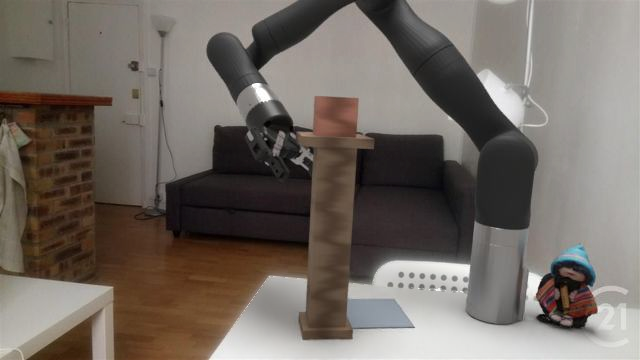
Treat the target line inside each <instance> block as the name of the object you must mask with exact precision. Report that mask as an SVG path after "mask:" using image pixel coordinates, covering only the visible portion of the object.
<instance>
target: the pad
mask: <svg viewBox="0 0 640 360" xmlns="http://www.w3.org/2000/svg"><path fill="white" fill-rule="evenodd" d="M347 317H348V319H349V322H350V324H351V326H352V328H353V330H355V329H357V330H359V329H363V330H364V329H406V328H407V329H410V328H411V329H413V328H416V327H415V325H414V324H413V322H412V321H411V320H410V318H409V317H408V315H407V314H406V312H405V311H404V310H403V309H402V307H401V305H400V304H399V302H398V301H397V300H396V298H348V301H347Z"/></svg>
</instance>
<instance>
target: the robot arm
mask: <svg viewBox="0 0 640 360" xmlns="http://www.w3.org/2000/svg"><path fill="white" fill-rule="evenodd" d="M353 3H354V4H355V5H356V7H357V8H358V9H359V11H360V12H361V13H363V15H364V16H365V17H366V18H367V19H368V20H369V21H370V22H371V23H372V24H373V25H374V26H375V27H376V28H377V29H378V30H379V31H380V33H382V34H383V35H384V37H385V38H386V39H387V41H388V42H389V44H390V45H391V46H392V48H393V50H394V51H395V53H396V54H397V56H398V58H399V59H400V60H401V61H402V63H403V65H404V66H405V67H406V69H407V70H408V72H409V73H410V75H411V76H412V77H413V79H414V81H416V82H417V84H418V85H419V87H420V88H421V90H423V92H424V93H425V95H426V96H428V98H429V99H430V100H431V101H432V102H433V103H434V104H435V105H436V106H437V107H439V109H441V110H442V112H443V113H445V114H446V115H447V116H448V117H449V118H451V119H452V120H453V121H454V122H455V123H456V124H458V125H459V127H461V128H462V130H463V131H464V132H465V134H466V135H467V136H468V137H469V139H470V140H471V141H472V143H473V144H474V146H475V147H476V149H477V151H478V152H479V156H478V161H477V166H476V167H477V168H476V179H475V190H474V208H475V209H474V210H475V216H474V226H473V233H472V234H473V235H472V246H471V254H470V255H471V256H470V265H469V274H468V283H467V293H466V300H465V301H466V303H465V311H466V312H467V314H469V316H471V317H473V318H475V319H477V320H479V321H483V322H486V323H490V324H496V325H499V324H500V325H508V324H509V325H510V324H514V323H516V322H518V321H523V320H524V316H525V315H524V313H525V309H526V308H525V307H526V297H527V290H528V283H529V282H528V281H529V275H530V271H529V269H528V268H527V267H525V265H526V257H527V250H528V249H527V247H528V240H529V232H530V223H531V215H532V214H531V213H532V212H531V210H532V209H531V208H532V207H531V206H532V198H533V197H532V196H533V188H534V180H535V174H536V173H535V172H536V170H537V167H538V165H539V153H538V152H539V151H538V150H537V147H536V146H535V144H534V142H533V141H531V139H529V137H527V136H526V135H525V133H523V132H522V131H521V130H520V129H519V128H518V127H517V126H516V125H515V124H514V123H513V122H512V121H511V120H510V118H508V116H507V115H506V114H504V112H503V111H502V110H501V109H500V108H499V106H498V105H497V104H496V103H495V101H494V99H493V98H492V97H491V95H490V93H489V92H488V90H487V88H486V87H485V85H484V83H483V82H482V81H481V79H480V78H479V76H478V75H477V73H476V72H475V71H474V69H473V68H472V67H471V65H470V64H469V62H468V61H467V59H466V58H465V57H464V55H462V53H461V52H460V50H459V49H458V48H457V47H456V46H455V44H454V43H453V42H452V40H450V39H449V38H448V37H447V36H446V35H445V34H444V33H442V32H441V31H439V30H438V29H436V28H435V27H433V26H431V25H430V24H429V23H427V22H426V21H424V20H423V19H422V18H421V17H420V16H418V15H417V14H416V12H415V11H414V10H413V8H412V7H411V5H410V4H409V3H408V1H407V0H296V1H295V2H293V3H292V4H291V3H290V5H288V6H286V7H284V8H282V9H280V10H279V11H277V12H275V13H273V14H271V15H269V16H267V17H265V18H263V19H262V20H260V21H258V22H256V23H255V24H254V25H253V26H252V27H251V36H252V38H253V41H252V42H251V43H250V44H249V45H248V46H247V47H246V48H245V47H244V45H243V43H242V41H241V40H240V39H239V38H238V37H237V36H236V35H235V34H233V33H231V32H227V31H222V32H218V33H216V34H214V35H213V36H212V37H210V38H209V40H208V41H207V44H206V57H207V59H208V61H209V63H210V64H211V66H212V67H213V69H214V70H215V72H216V73H217V74H218V76H219V77H220V79H221V80H222V82H223V83H224V85H225V86H226V88H227V91H228V92H229V94H230V97H231V98H232V100H233V102H234V103H235V105H236V107H237V109H238V111H239V114H240V117H241V119H242V121H243V122H244V124H245V125H246V128H247V129H248V131H247V133H246V135H244V139H245V142H246V144H247V145H248V148H249V149H250V152H251V154H252V155H253V157H254V160H255V161H256V162H258V163H261V162H262V161H263V162H264V163H265V165H267V166H268V167H270V169H271V170H272V172H273V174H274V175H275V178H277V180H278V182H280V183H285V182H286V181H287V180H288V179H289V178H290V176H291V171H290V169H289V168H288V166H287V165H286V163H285V161H284V159H283V158H285V159H289V160H290V161H291V162H292V163H293V164H295V165H300V166H302V168H304V169H305V170H307V173H308V174H309V176H310V178H311V179H312V171H313V150H314V147H307V146H301V145H300V144H299V143H298V142H297V141H296V133H294V121H293V118H292V116H291V115H290V114H289V112H288V109H286V108H285V106H284V104H283V103H282V101H281V100H280V98H279V96H278V94H276V92H275V91H274V90H273V89H272V88H271V86H270V85H269V83H268V81H267V80H266V79H265V77H264V76H263V74H261V72H260V70H261V69H263V68H264V66H265V65H267V64H268V63H269V62H270V61H271V60H272V59H273V58H274V57H275V56H278V55H279V54H281V53H283V52H285V51H287V50H289V49H290V48H292V47H294V46H297V45H298V44H300V43H301V42H303V41H304V40H305V39H307V38H308V37H310V35H312V34H313V33H314V32H315V31H316V30H317V29H318V28H319V27H321V25H323V24H324V23H325V21H327V20H328V19H329V18H331V17H332V16H333V15H335V14H336V13H337V12H339V11H340V10H342V9H343V8H345V7H347V6H349V5H352V4H353ZM298 153H300V156H299V157H297V155H298ZM304 159H305V160H304Z"/></svg>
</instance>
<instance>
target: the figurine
mask: <svg viewBox="0 0 640 360" xmlns="http://www.w3.org/2000/svg"><path fill="white" fill-rule="evenodd" d="M549 270H550V272H549V273H546V274H544V276H543V277H542V278H540V281H539V283H538V287H537V291H536V292H535V293H536V294H535V298H536V302H538V306H539V307H540V308H541V311H542V312H543V313H539V314H538V315H537V316H536V320H538V321H539V322H541V323H543V324H549V325H553V326H556V327H560V328H564V329H582V328H581V327H583V328H585V326H586V324H587V322H588V318H589V317H591V316H592V315H597V314H598V311H599V310H598V305H597V301H596V299H595V297H594V294H593V293H592V290H590V288H593V287H594V284H595V283H596V279H597V278H596V273H595V269H594V268H593V266H592V264H591V262H590V260H589V256H588V253H587V252H586V250H585V246H584V245H583V243H579V244H576V245H572V247H570V248H568V249H566V250H564V251H562V252H561V253H560V254H558V255H557V256H556V257H555V258H554V260H553V261H552V262H551V265H550V269H549ZM588 286H589V287H590V288H589V287H588Z"/></svg>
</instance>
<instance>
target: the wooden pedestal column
mask: <svg viewBox="0 0 640 360" xmlns="http://www.w3.org/2000/svg"><path fill="white" fill-rule="evenodd" d="M295 135H296V141H297V142H298V143H299V144H300V145H301V146H307V147H314V150H313V171H312V178H311V190H310V191H311V195H310V212H309V213H310V214H309V215H310V216H309V233H308V255H307V256H308V257H307V259H308V260H307V274H306V275H307V277H306V294H305V295H306V297H305V299H306V300H305V311H299V312H298V323H299V324H298V325H299V327H300V332H301V337H302V340H303V341H304V340H305V341H306V340H310V341H311V340H353V337H354V336H353V335H354V329H353V328H352V326H351V324H350V322H349V319H348V317H347V301H348V299H349V297H348V296H349V283H350V267H351V266H350V265H351V251H352V250H351V249H352V235H353V232H352V231H353V221H354V220H353V219H354V203H355V188H356V187H355V185H356V173H357V172H356V171H357V157H358V156H357V155H358V154H357V153H358V149H361V150H363V149H364V150H367V149H368V150H374V149H375V138H373V137H369V136H367V135H363V134H362V133H357V135H356V138H352V137H327V136H317V135H315V134H313V131H296V132H295Z"/></svg>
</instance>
